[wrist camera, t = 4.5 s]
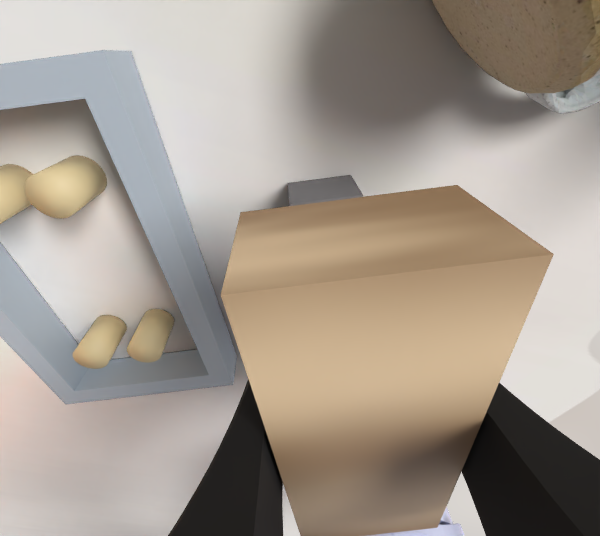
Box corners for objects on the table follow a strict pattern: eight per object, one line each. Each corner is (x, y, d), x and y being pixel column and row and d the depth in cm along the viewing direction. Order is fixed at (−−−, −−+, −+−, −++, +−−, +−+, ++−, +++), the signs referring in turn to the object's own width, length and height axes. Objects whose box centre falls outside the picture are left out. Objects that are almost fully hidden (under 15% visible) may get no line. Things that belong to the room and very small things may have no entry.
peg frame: (236, 356, 21) (232, 388, 19) (83, 375, 21) (63, 408, 19) (131, 51, 11) (98, 49, 9) (-152, 89, 12) (-245, 96, 10)
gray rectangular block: (352, 302, 19) (361, 332, 17) (304, 308, 19) (307, 338, 17) (350, 175, 15) (362, 194, 12) (287, 183, 15) (289, 203, 13)
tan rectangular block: (408, 443, 14) (437, 527, 11) (298, 456, 14) (302, 542, 11) (456, 185, 7) (552, 253, 5) (240, 212, 7) (220, 295, 5)
